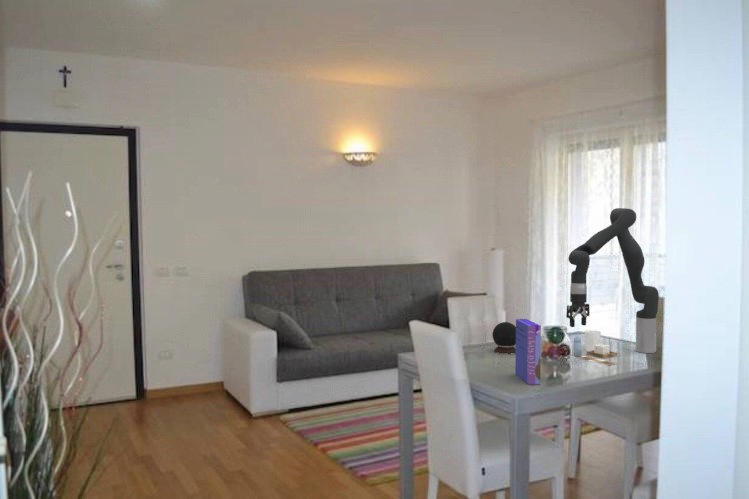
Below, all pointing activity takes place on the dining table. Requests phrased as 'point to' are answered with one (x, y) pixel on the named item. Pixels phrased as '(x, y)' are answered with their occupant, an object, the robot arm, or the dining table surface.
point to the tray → (611, 354)
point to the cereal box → (528, 351)
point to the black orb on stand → (505, 337)
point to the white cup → (591, 339)
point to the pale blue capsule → (577, 347)
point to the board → (595, 360)
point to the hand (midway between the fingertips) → (577, 326)
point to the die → (601, 349)
